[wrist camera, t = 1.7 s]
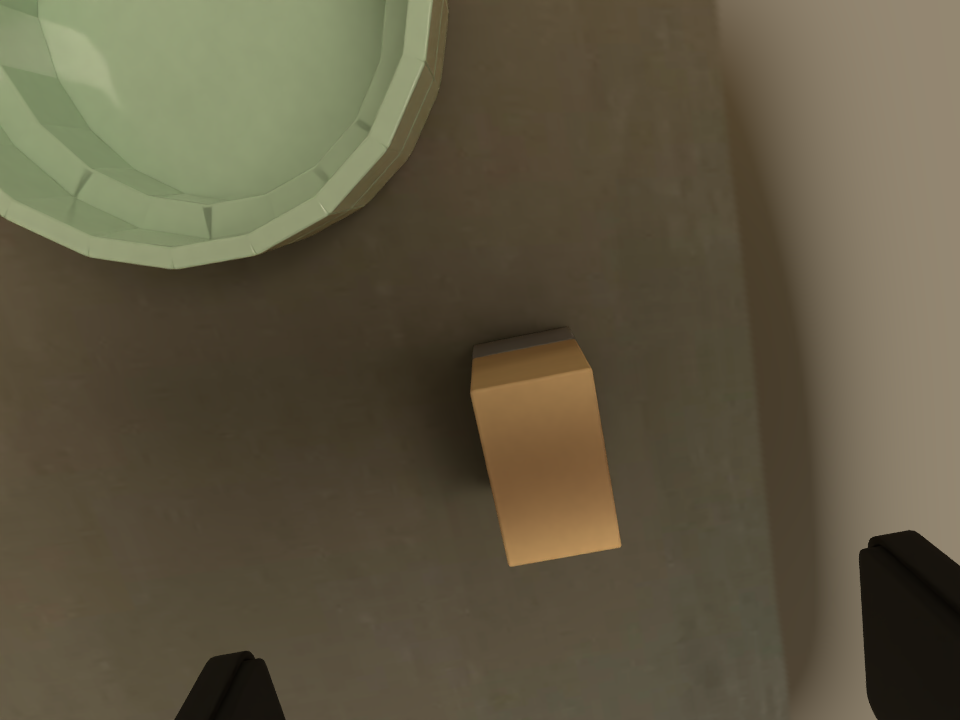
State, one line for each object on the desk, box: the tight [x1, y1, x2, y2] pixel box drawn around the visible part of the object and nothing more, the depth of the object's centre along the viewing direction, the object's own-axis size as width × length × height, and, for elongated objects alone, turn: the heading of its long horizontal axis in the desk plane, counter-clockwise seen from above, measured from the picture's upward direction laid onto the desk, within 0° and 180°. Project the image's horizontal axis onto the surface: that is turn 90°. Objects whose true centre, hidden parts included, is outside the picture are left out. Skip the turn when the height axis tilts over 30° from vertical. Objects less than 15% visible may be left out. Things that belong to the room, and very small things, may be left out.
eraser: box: [470, 327, 621, 567], centre depth 18 cm, size 5×3×4 cm, turn 12°
